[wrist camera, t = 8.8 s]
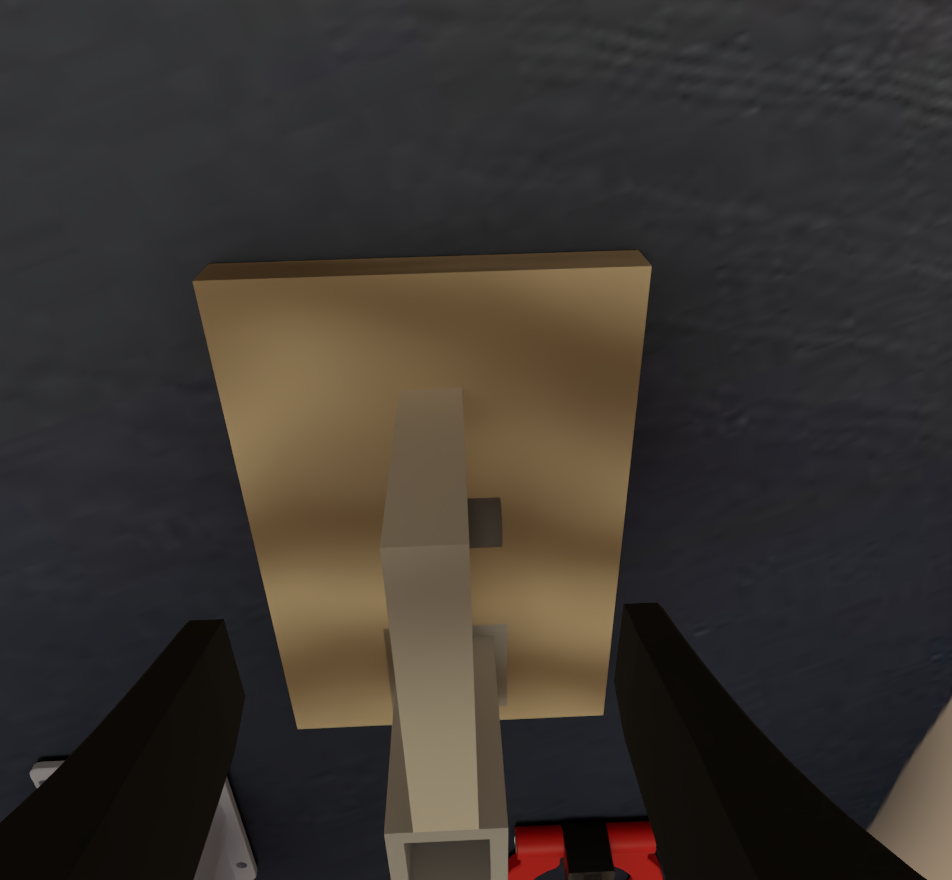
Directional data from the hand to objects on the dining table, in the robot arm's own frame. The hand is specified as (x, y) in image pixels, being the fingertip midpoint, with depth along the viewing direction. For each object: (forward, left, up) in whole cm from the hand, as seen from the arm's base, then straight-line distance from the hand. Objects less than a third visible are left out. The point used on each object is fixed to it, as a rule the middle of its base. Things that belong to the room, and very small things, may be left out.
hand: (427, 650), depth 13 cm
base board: (-5, 0, -11) cm, 12 cm away
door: (-6, 0, -9) cm, 11 cm away
